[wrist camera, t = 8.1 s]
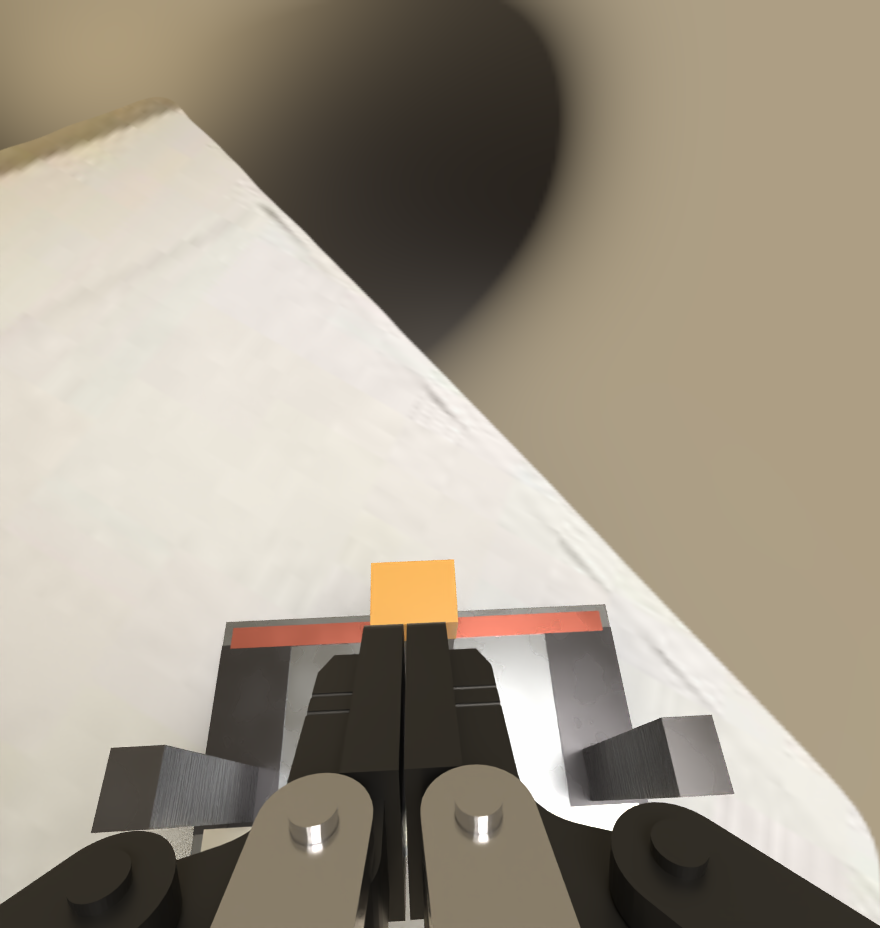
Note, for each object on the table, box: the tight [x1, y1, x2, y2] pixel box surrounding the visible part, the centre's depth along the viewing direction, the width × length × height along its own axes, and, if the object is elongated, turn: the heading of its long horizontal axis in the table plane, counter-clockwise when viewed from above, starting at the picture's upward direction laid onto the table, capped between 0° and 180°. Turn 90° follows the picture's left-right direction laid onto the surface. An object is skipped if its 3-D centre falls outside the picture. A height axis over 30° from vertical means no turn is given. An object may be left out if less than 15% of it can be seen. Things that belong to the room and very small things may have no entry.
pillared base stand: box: [91, 604, 734, 856], centre depth 26 cm, size 12×23×15 cm, turn 93°
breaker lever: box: [370, 560, 458, 667], centre depth 26 cm, size 2×3×12 cm
